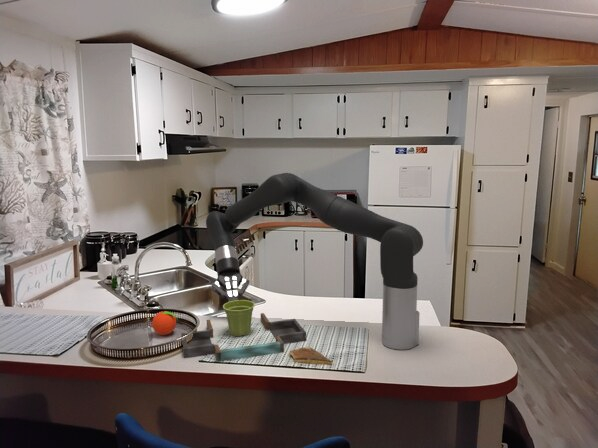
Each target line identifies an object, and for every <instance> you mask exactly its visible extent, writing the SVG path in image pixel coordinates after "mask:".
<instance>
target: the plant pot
mask: <svg viewBox="0 0 598 448" xmlns="http://www.w3.org/2000/svg"><path fill="white" fill-rule="evenodd" d="M255 305H256V304H255V302H254V301H251V300H247V299H238V300H235V301H230V302H226V303H224V304H223V305H222V308H223V310H224V312H225V315H226V320H227V324H228V331H229V333H230V335H231V336H234V337H241V336H247V335H249V334H250V333H251V330H252V329H251V328H252V319H253V311H254V308H255Z"/></svg>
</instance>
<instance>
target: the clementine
mask: <svg viewBox="0 0 598 448" xmlns="http://www.w3.org/2000/svg"><path fill="white" fill-rule="evenodd" d="M177 321H179V320H178V317H177V316H176V314H174V313H173V312H170V311H167V310H163V311H160V312H158V313H157V314H155V316H154V317H153V318H152V321H151V322H152V323H151V325H152V329H153V330H154V332H155V333H156V334H158V335H160V336H161V335H162V336H165V335H166V336H167V335H169V334H171V333H172V332H173V331H174V330H175V328H176V327H177Z"/></svg>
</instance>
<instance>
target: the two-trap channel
mask: <svg viewBox="0 0 598 448" xmlns="http://www.w3.org/2000/svg"><path fill="white" fill-rule="evenodd" d="M260 322H261V324H262V326H264V328H265V330H266V331H270V332H271V334H272V336H273V337H274V338H275V341H273V342H266V343H261V344H259V343H257V344H252V345H245V346H238V347H231V348H230V347H229V348H223V349H220V346H219V344H215V343H212V339H211V338H214V328H213V325H212V322H211V319H206V330H197V331H193V332H194V333H193V337H192V341H191V342H190V343H189V344H187V342H186V338H185V339H184V340H182V339H181V345H182V344H183V347H182V352H183V358H184V359H187V358H193V357H201V356H208V355H207V354H209V355H214V356H215V359H217V360H216V362H217V361H220V362H225V361H224V360H227V361H231V360H232V359H233V360H239V358H240V359H247V358H251V357H253V358H254V357H258V356H266V354H267V355H274V354H278V353H279V354H280V353H285V344H291V343H298V342H299V343H300V342H306V341H307V331H306V330H305V329H304V328H303V327H302V325H301V324H300V323H299V322H298V321H297V319H296V318H291V319H285V320H284V319H282V320H277V321H270V320H269V319H268V317H267V316H266V314H265V313H264V312H262V313H260ZM188 333H190V331H189V332H182V333H181V335H180V336H181V338H182V337H183V336H185V335H187V334H188ZM273 353H274V354H273Z"/></svg>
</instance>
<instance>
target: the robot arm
mask: <svg viewBox="0 0 598 448" xmlns="http://www.w3.org/2000/svg"><path fill="white" fill-rule="evenodd" d="M289 202H294V203H296V204H299V205H302V206H304V207H306V208H308V209H310V210H311V212H313V214H314V215H315V216H316V217H317V218H318V220H320V222H322V223H323V224H325V225H326V226H329V227H331V228H333V229H335V230H337V231H339V232H341V233H342V232H343V233H346V234H349V235H354V236H358V237H359V236H360V237H364V238H369V239H372V240H375V241H377V242H379V243H380V245H379V246H380V247H379V248H380V249H379V256H380V257H379V258H380V260H379V261H380V262H379V263H380V264H379V265H380V273H381V276H382V313H381V314H382V317H381V319H382V321H381V322H382V325H381V343H382V345H384V346H385V347H387V348H389V349H393V350H400V351H401V350H411V349H413V348H414V347H415V346H418V345H419V342H420V341H419V339H420V337H419V336H420V312H419V311H418V309H417V308H418V307H417V305H418V280H419V279H418V275H417V273H415V271H414V256H416V255H417V254H419V252H421V251H422V248H423V246H424V240H423V236H422V234H421V232H420V231H419V230H418V229H417V228H416V227H414V226H413V225H410V224H407V223H403V222H400V221H398V220H393V219H390V218H388V217H385V216H382V215H380V214H378V213H377V212H374V211H372V210H370V209H368V208H367V207H364V206H361V205H359V204H357V203H354V202H353V201H351V200H349V199H347V198H344V197H342V196H339V195H337V194H334V193H332V192H330V191H327V190H325V189H323V188H319V187H317V186H315V185H314V184H311V183H309V182H307V181H306V180H305V179H303V178H301V177H299V176H298V175H296V174H294V173H291V172H283V173H277V174H273V175H271V176H270V177H268V178H267V179H266V180H264V182H262V183H261V184H260V185H259V186H258V187H257V188H256V189H255V190H253V191H252V192H251V193H250V194H248V195H247V196H245V197H243V198H241V199H239V200H238V201H236V202H235V203H233V204H232V205H230V206H228V207H227V208H226V210H225V212H220V211H217V210H213V211H211V212H209V213H208V214H207V216H206V219H205V226H206V229H207V232H208V234H209V237H210V238H211V240H212V242H213V247H214V259H215V261H214V262H215V266H216V273H217V278H216V281H215V282H212V283H211V290H212V291H213V292H215V293H216V295H218V296H219V297H220V298H221V299H222V300H225V299H226V300H227V301H228V302H230V301H235V300H239V299H238V298H242V297H243V295H244V294H245V292H246V290H247V288H248V287H249V286H250V282H251V281H250V279H245V278H244V276H243V275H242V273H241V268H240V262H239V258H238V252H237V250H236V244H235V239H234V236H233V235H231V234H232V233H234V232H235V231H236V229H237V228H238V227H239V226H240V225H241V224H242V223H244V222H246V221H248V220H250V219H251V218H253V217H254V216H255V215H257V213H258V212H260V211H261V210H263V209H265V208H269V207H271V206H275V205H282V204H285V203H289ZM240 285H241V287H240ZM239 287H240V289H239V291H238V288H239Z"/></svg>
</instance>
